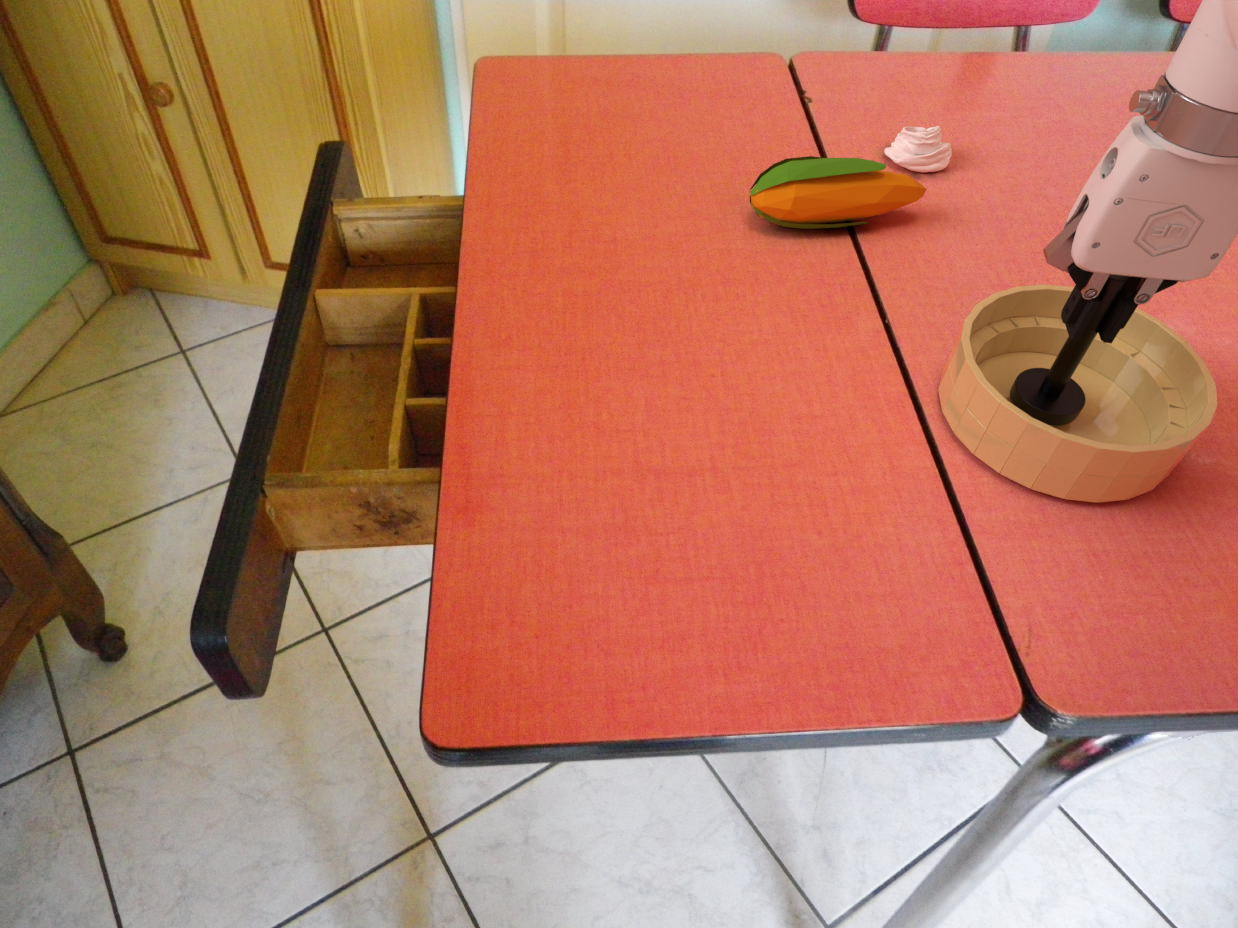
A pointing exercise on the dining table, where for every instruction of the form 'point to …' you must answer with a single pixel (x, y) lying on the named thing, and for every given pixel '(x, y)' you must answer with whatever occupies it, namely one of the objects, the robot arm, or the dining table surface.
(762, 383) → the dining table surface
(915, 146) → the whipped cream
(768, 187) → the corn
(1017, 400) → the black plunger
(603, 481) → the dining table surface
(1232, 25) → the robot arm
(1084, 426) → the bowl
